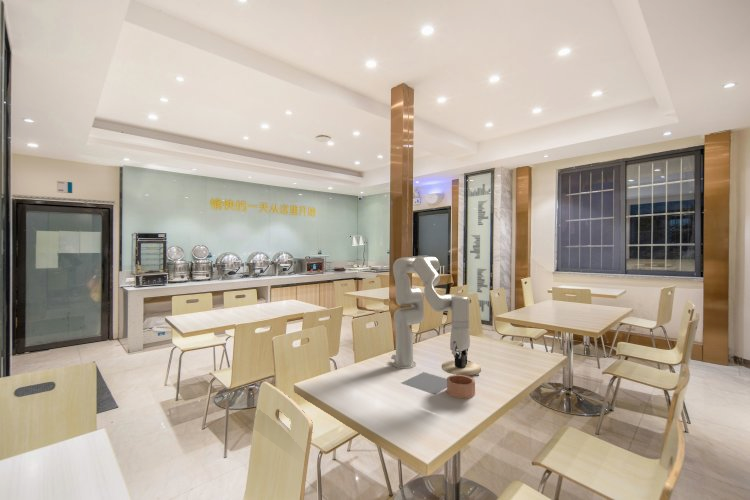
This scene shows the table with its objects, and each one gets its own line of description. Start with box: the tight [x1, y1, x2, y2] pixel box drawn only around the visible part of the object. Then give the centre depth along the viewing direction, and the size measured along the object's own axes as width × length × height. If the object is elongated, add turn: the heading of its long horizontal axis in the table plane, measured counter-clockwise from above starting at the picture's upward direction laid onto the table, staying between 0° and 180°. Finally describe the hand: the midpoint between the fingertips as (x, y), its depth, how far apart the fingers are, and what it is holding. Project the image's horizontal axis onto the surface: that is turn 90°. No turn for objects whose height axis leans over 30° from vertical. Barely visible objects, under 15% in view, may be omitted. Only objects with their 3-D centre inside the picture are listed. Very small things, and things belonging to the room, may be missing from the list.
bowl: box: [446, 374, 476, 399], centre depth 152 cm, size 12×12×6 cm
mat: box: [401, 371, 447, 395], centre depth 163 cm, size 19×19×1 cm
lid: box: [441, 354, 482, 376], centre depth 151 cm, size 17×17×6 cm
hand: (460, 365), depth 151 cm, fingers closed on lid, 4 cm apart
